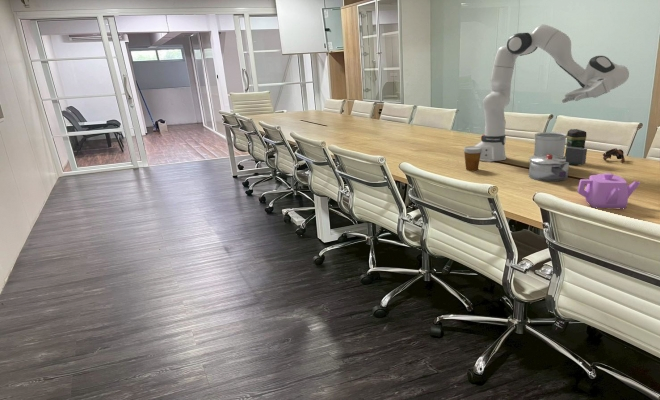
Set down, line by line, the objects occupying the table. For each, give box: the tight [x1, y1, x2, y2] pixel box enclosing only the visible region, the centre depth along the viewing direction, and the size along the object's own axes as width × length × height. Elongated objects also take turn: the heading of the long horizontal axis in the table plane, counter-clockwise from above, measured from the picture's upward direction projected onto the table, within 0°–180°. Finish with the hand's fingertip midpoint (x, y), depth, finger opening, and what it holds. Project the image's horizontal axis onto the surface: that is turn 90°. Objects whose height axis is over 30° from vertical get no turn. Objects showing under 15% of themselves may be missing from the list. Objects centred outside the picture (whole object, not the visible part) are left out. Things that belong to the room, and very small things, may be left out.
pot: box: [528, 160, 570, 182], centre depth 206 cm, size 31×17×8 cm, turn 171°
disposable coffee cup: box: [462, 145, 482, 172], centre depth 232 cm, size 10×10×12 cm
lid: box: [529, 147, 588, 165], centre depth 204 cm, size 25×18×8 cm
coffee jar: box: [564, 128, 587, 166], centre depth 229 cm, size 10×8×19 cm
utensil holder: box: [533, 131, 567, 156], centre depth 226 cm, size 15×15×18 cm
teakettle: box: [576, 172, 641, 210], centre depth 168 cm, size 17×17×12 cm
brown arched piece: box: [602, 148, 626, 164], centre depth 231 cm, size 12×10×8 cm
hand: (569, 100), depth 201 cm, fingers open, 8 cm apart
